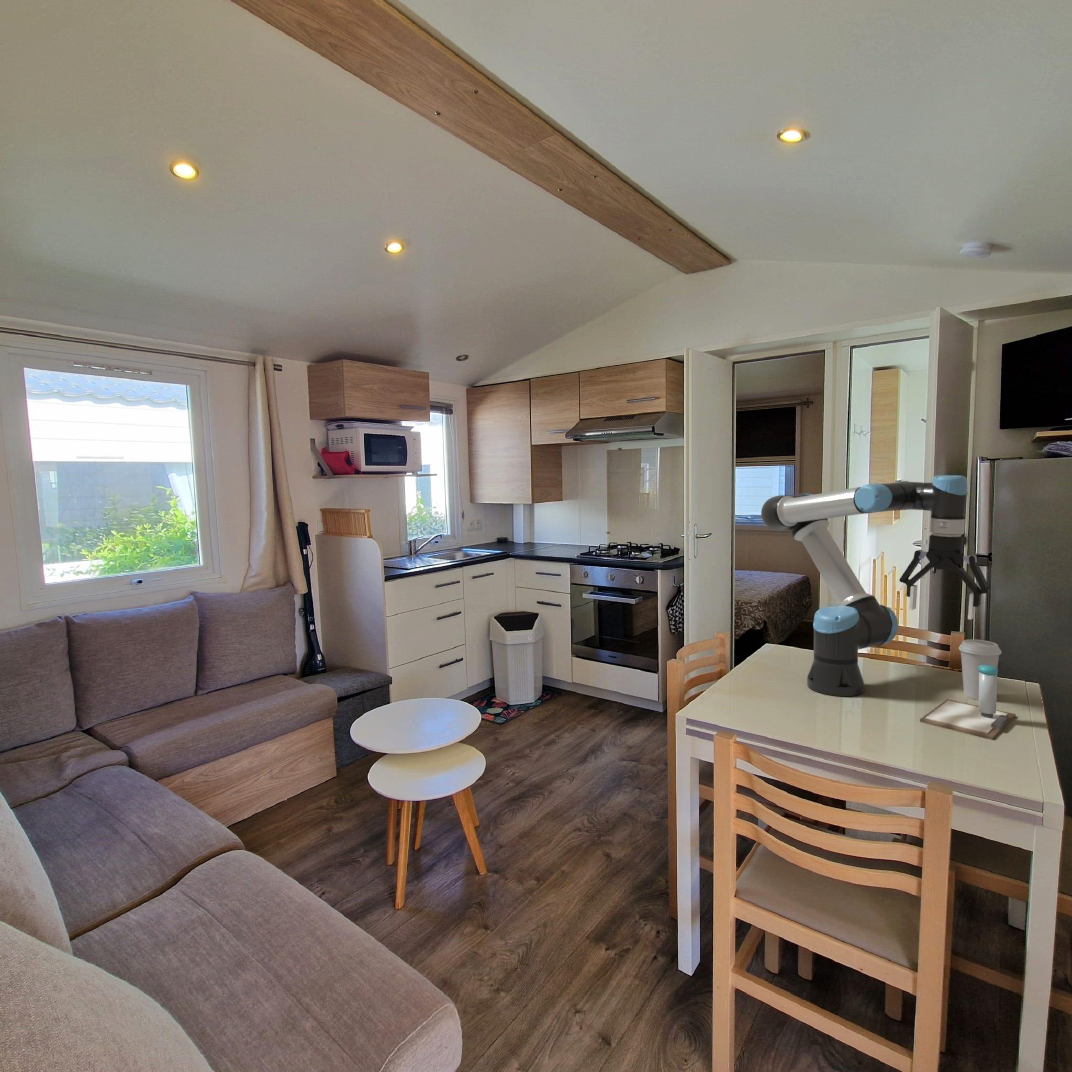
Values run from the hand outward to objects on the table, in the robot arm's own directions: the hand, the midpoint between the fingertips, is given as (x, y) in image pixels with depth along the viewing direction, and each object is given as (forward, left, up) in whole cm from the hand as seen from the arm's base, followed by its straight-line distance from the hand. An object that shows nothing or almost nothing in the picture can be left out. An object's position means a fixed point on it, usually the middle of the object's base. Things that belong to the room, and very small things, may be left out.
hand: (940, 613), depth 163 cm
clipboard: (+9, -7, -25) cm, 27 cm away
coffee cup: (+6, +13, -25) cm, 29 cm away
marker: (+12, -4, -24) cm, 27 cm away
